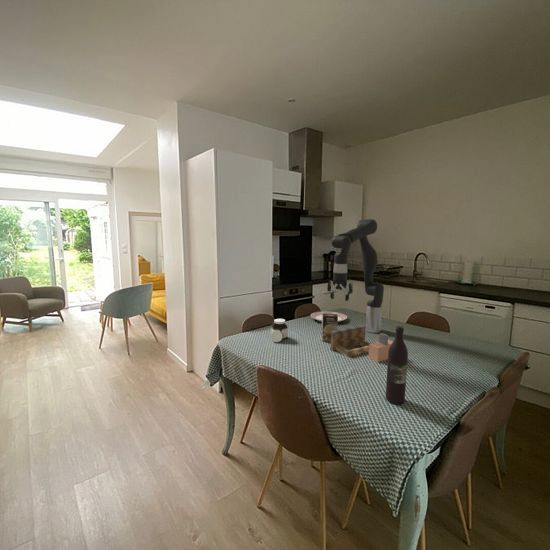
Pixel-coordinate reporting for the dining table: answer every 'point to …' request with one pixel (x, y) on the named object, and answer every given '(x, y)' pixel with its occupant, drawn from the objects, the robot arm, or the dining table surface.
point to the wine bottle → (397, 369)
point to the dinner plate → (319, 314)
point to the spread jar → (279, 330)
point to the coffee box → (328, 325)
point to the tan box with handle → (380, 348)
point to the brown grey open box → (349, 340)
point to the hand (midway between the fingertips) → (339, 299)
